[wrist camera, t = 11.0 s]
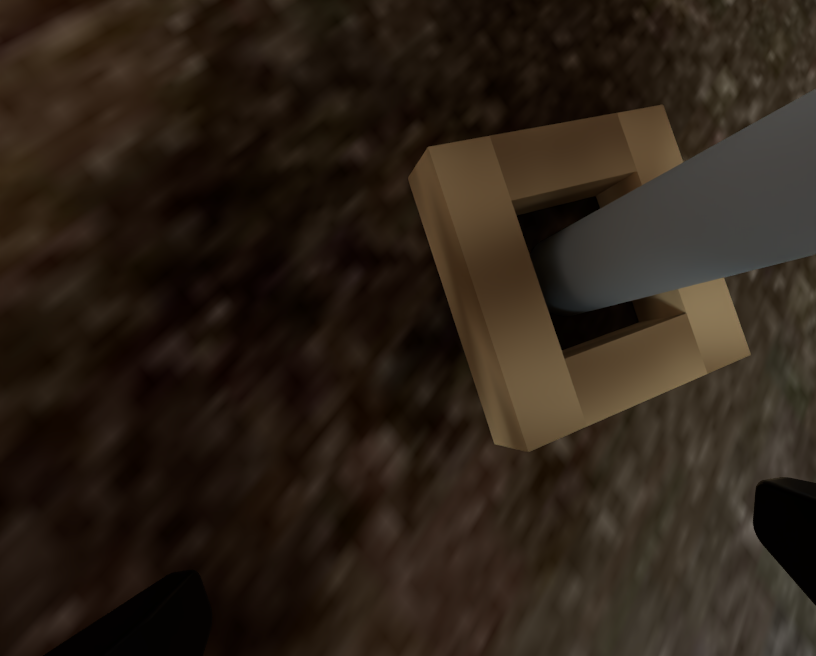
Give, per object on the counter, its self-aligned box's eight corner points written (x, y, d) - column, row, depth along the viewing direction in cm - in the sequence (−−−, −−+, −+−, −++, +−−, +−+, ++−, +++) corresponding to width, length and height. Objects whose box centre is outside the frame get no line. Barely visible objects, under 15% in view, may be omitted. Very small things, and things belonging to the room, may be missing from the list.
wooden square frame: (697, 358, 21) (751, 354, 19) (494, 444, 18) (528, 451, 16) (620, 135, 22) (662, 104, 20) (407, 178, 18) (427, 146, 16)
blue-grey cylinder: (596, 321, 20) (1549, 113, 5) (525, 310, 19) (1436, 21, 4) (597, 243, 21) (1461, -147, 6) (527, 230, 20) (1341, -280, 5)
